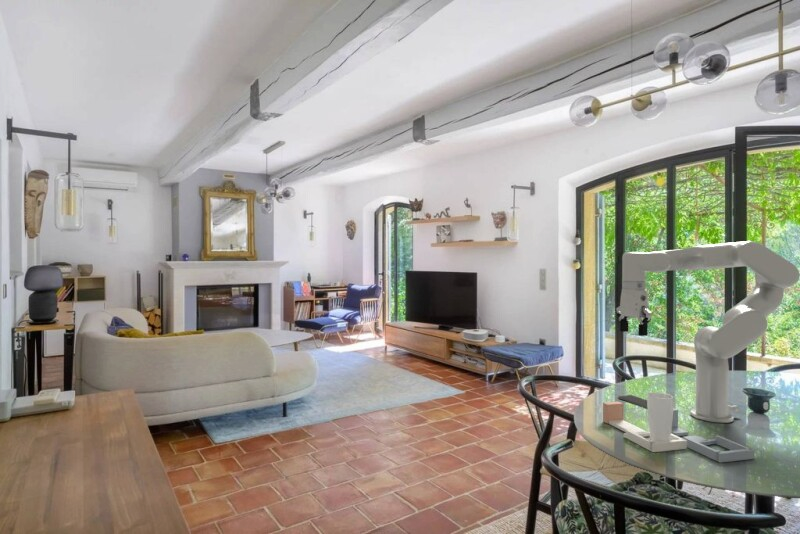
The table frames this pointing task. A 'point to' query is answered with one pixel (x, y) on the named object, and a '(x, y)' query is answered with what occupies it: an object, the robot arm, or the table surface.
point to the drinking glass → (660, 416)
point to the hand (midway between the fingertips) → (633, 333)
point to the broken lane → (699, 443)
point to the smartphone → (634, 400)
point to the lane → (638, 430)
